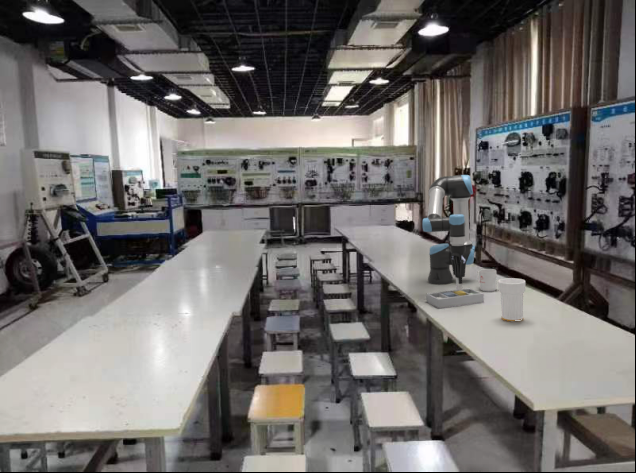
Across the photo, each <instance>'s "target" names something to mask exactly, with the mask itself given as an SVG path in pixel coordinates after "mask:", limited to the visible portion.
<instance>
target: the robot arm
mask: <svg viewBox="0 0 636 473" xmlns="http://www.w3.org/2000/svg"><path fill="white" fill-rule="evenodd" d="M473 194H474V191H473V185H472V180H471V176H470V174H469V175H468V174H458V175H449V176H448V175H446V176H441V177H439V178H437V179H436V180H434V181H433V182H432V183H431V184H430V186H429V188H428V194H427V195H428V197H429V201H428V208H427V217H424V218H423V219H422V231H423V232H425V233H426V232H428V233H433V232H435V233H436V232H449V241H450V242H449V243H438V244H435V245H432V246H430V247H429V254H428V255H429V273H428V277H427V283H428V284H431V285H432V284H433V285H446V284H451V283H453V282H454V277H455V286H456V287H455V290H463V289H464V288H463V278H465V277H466V267H467V266H468V265H469V266H470V265H473V264H474V260H475V251H476V250H475V249H476V245H474V244H473V242H472V241H471V239H470V224H469V223H470V216H469V215H470V214H469V212H470V211H469V200H470V199H471V197H472V196H471V195H473ZM445 196H449V197H450V201H452V204H453V205H452V206H453V214H450V215H449V216H447V217H442V215H443V214H442V212H443V203H444V202H443V201H444V198H445ZM450 268H452V272H451V269H450ZM452 274H453V275H452ZM453 276H454V277H453Z"/></svg>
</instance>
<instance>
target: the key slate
mask: <svg viewBox="0 0 636 473" xmlns="http://www.w3.org/2000/svg"><path fill="white" fill-rule="evenodd" d="M443 294H444V295H446V296H448V297H455V294H454V293H452V292H448V293H443Z"/></svg>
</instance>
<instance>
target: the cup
mask: <svg viewBox="0 0 636 473" xmlns="http://www.w3.org/2000/svg"><path fill="white" fill-rule="evenodd" d="M497 284H498V285H497V286H498V287H497V289H498V291H499V293H500V298H501V300H500V301H501V303H500V304H501V320H502V321H505V320H507V321H506V322H509V321H515V320H521V319H523V320H524V294H525V292H526V280H525V279H522V278H514V277H513V278H512V277H511V278H510V277H509V278H508V277H507V278H500V279H498V280H497Z"/></svg>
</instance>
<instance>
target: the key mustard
mask: <svg viewBox="0 0 636 473" xmlns="http://www.w3.org/2000/svg"><path fill="white" fill-rule="evenodd" d="M454 293H455V294H457V295H460V296H463V295H466V292H463V291H456V292H454Z"/></svg>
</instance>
